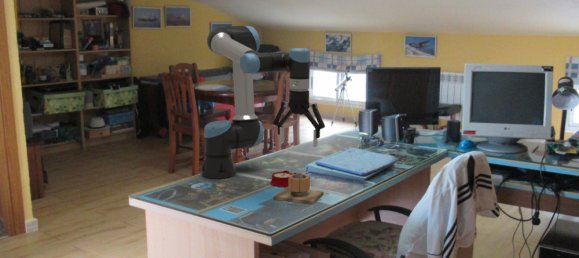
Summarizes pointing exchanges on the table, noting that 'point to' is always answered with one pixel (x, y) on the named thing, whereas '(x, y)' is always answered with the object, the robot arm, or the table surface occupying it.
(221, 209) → the table surface
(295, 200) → the post board
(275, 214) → the table surface
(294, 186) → the ring
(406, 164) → the table surface
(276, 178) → the alarm clock
